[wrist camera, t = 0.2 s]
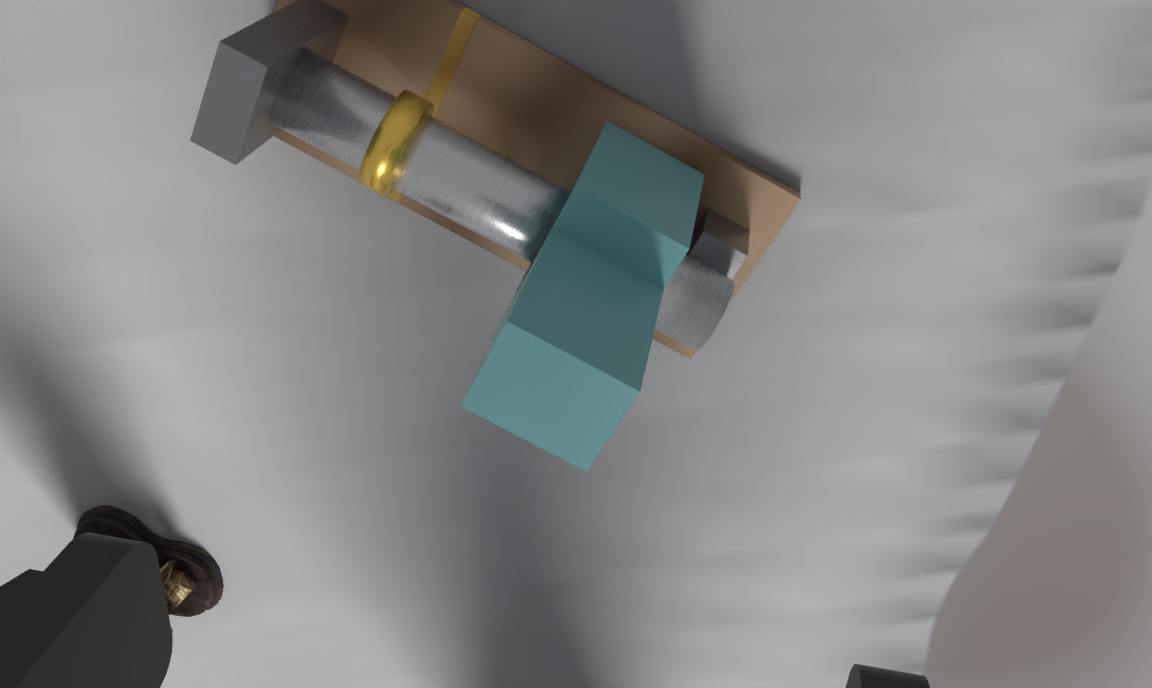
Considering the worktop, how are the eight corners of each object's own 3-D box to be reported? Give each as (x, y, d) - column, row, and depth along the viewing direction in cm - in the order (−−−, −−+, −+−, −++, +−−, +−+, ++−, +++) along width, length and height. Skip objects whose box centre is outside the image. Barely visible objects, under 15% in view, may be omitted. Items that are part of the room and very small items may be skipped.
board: (800, 192, 38) (800, 199, 38) (691, 351, 42) (690, 359, 42) (309, -81, 36) (302, -78, 36) (246, 112, 41) (239, 117, 40)
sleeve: (704, 174, 37) (668, 347, 27) (622, 307, 41) (561, 508, 30) (607, 120, 37) (532, 274, 26) (532, 259, 40) (438, 445, 30)
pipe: (750, 231, 39) (742, 317, 33) (695, 311, 41) (679, 406, 35) (310, -11, 37) (221, 35, 31) (278, 85, 39) (188, 145, 33)
